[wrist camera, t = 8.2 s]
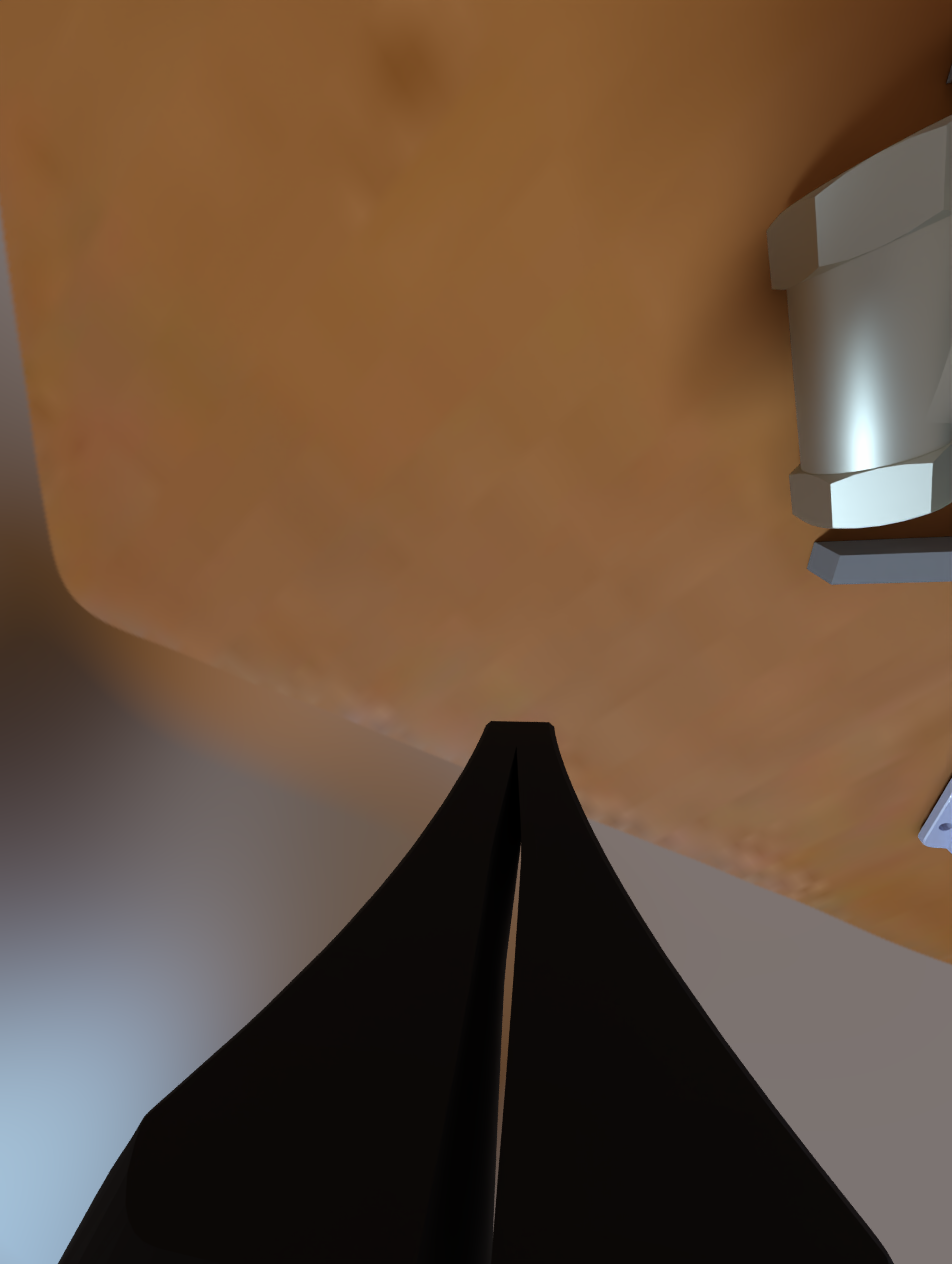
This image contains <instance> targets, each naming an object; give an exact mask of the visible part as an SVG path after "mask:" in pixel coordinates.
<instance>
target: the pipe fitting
mask: <svg viewBox="0 0 952 1264" xmlns="http://www.w3.org/2000/svg"><path fill="white" fill-rule="evenodd" d="M766 232H767V243H768V254H769V265H770V275H771V286H772V289H776V290H786V289H787V302H788V314H789V327H790V340H791V352H792V365H793V377H794V390H795V402H796V414H797V426H798V438H799V450H800V462H801V464H800V465H799V466H798V467H796V468H795V469H794V470H793V471H792V473H791V474H790V475H789V481H790V491H791V502H792V513H793V515H795V516H796V517H798V518H799V519H801V520H802V521H804V522H806V523H808V524H811V525H813V526H817V527H822V528H831V529H854V528H866V527H875V526H882V525H888V524H893V523H898V522H902V521H906V520H910V519H914V518H917V517H921V516H924V515H927V514H929V513H932V512H935V511H937V510H940V509H942V508H943V507H945V506H947V505H948V504H950V503H951V502H952V115H950V116H948V117H946V118H944V119H942V120H940V121H938V122H936V123H934V124H932V125H930V126H928V127H926V128H924V129H922V130H920V131H918V132H916V133H914V134H912V135H910V136H908V137H906V138H905V139H903V140H901V141H899V142H897V143H895V144H893V145H892V146H890V147H888V148H886V149H884V150H882V151H881V152H879V153H877V154H875V155H873V156H872V157H870V158H868V159H866V160H864V161H863V162H861V163H859V164H857V165H856V166H854V167H852V168H850V169H849V170H847V171H845V172H844V173H842V174H840V175H838V176H837V177H835V178H833V179H832V180H830V181H828V182H827V183H825V184H823V185H822V186H820V187H818V188H817V189H815V190H814V191H812V192H810V193H809V194H807V195H806V196H804V197H803V198H801V199H800V200H798V201H797V202H795V203H794V204H792V205H791V206H789V207H788V208H787V209H785V210H784V211H783V212H782V213H781V214H780V215H779V216H778V217H777V218H776V219H775V220H774V222H773V223H772V224H771V225H770V227H769V228H768V229H767V231H766Z"/></svg>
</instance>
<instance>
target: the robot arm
mask: <svg viewBox="0 0 952 1264" xmlns="http://www.w3.org/2000/svg"><path fill="white" fill-rule="evenodd" d="M918 838H919V839H920V841H921V842H922V843H923V844H924V845H926V846H928V847H933V848H947V849H948V850H949V851H950V852H951V854H952V778H951V780H950V782H949V783H948V785H947V787H946V789H945V790H944V792H943V794H942V795H941V797H940V799H939V800H938V802H937V804H936V805H935V807H934V809H933V810H932V812H931V814H930V815H929V817H928V819H927V821H926V822H925V824H924V826H923V827H922V829H921V831H920V832H919V834H918ZM520 846H521V870H520V887H519V903H518V919H517V934H516V948H515V963H514V977H513V992H512V1005H511V1018H510V1031H509V1045H508V1060H507V1072H506V1085H505V1097H504V1109H503V1122H502V1134H501V1146H500V1158H499V1171H498V1183H497V1197H496V1208H495V1220H494V1232H493V1217H494V1193H495V1169H496V1145H497V1122H498V1100H499V1077H500V1056H501V1035H502V1016H503V996H504V979H505V969H506V958H507V949H508V941H509V933H510V924H511V918H512V910H513V902H514V894H515V886H516V878H517V870H518V862H519V854H520ZM58 1264H894V1263H893V1261H892V1259H891V1258H890V1256H889V1254H888V1252H887V1251H886V1249H885V1248H884V1246H883V1245H882V1244H881V1242H880V1241H879V1239H878V1238H877V1237H876V1235H875V1234H874V1233H873V1232H872V1230H871V1229H870V1228H869V1226H868V1225H867V1224H866V1223H865V1221H864V1220H863V1219H862V1218H861V1216H860V1215H859V1214H858V1213H857V1211H856V1210H855V1209H854V1207H853V1206H852V1205H851V1204H850V1202H849V1201H848V1200H847V1199H846V1197H845V1196H844V1195H843V1194H842V1192H841V1191H840V1190H839V1189H838V1187H837V1186H836V1185H835V1184H834V1182H833V1181H832V1180H831V1179H830V1177H829V1176H828V1175H827V1174H826V1172H825V1171H824V1170H823V1169H822V1167H821V1166H820V1165H819V1163H818V1162H817V1161H816V1160H815V1158H814V1157H813V1156H812V1154H811V1153H810V1152H809V1151H808V1149H807V1148H806V1147H805V1145H804V1144H803V1143H802V1142H801V1140H800V1139H799V1138H798V1136H797V1135H796V1134H795V1132H794V1131H793V1130H792V1128H791V1127H790V1126H789V1125H788V1123H787V1122H786V1121H785V1119H784V1118H783V1117H782V1116H781V1115H780V1113H779V1112H778V1110H777V1109H776V1108H775V1107H774V1105H773V1104H772V1103H771V1101H770V1100H769V1099H768V1097H767V1096H766V1095H765V1093H764V1092H763V1090H762V1089H761V1088H760V1086H759V1085H758V1084H757V1082H756V1081H755V1080H754V1078H753V1077H752V1076H751V1074H750V1073H749V1072H748V1070H747V1069H746V1068H745V1066H744V1065H743V1064H742V1062H741V1061H740V1060H739V1058H738V1057H737V1055H736V1054H735V1053H734V1051H733V1050H732V1049H731V1048H730V1046H729V1045H728V1043H727V1042H726V1041H725V1039H724V1038H723V1037H722V1035H721V1034H720V1032H719V1031H718V1029H717V1028H716V1026H715V1025H714V1024H713V1022H712V1021H711V1019H710V1018H709V1016H708V1015H707V1014H706V1012H705V1011H704V1009H703V1008H702V1006H701V1005H700V1003H699V1002H698V1001H697V999H696V998H695V996H694V995H693V993H692V992H691V991H690V989H689V988H688V986H687V985H686V983H685V982H684V981H683V979H682V977H681V976H680V975H679V973H678V972H677V970H676V969H675V968H674V966H673V965H672V963H671V962H670V960H669V959H668V957H667V956H666V954H665V953H664V951H663V950H662V949H661V947H660V945H659V943H658V942H657V940H656V939H655V937H654V936H653V934H652V932H651V931H650V929H649V928H648V926H647V925H646V923H645V922H644V920H643V918H642V917H641V915H640V914H639V912H638V910H637V909H636V907H635V906H634V904H633V902H632V900H631V899H630V897H629V895H628V894H627V892H626V890H625V889H624V887H623V885H622V884H621V882H620V880H619V878H618V876H617V875H616V873H615V871H614V870H613V868H612V866H611V864H610V862H609V861H608V859H607V857H606V855H605V853H604V851H603V849H602V847H601V845H600V843H599V841H598V840H597V838H596V836H595V834H594V832H593V830H592V828H591V826H590V824H589V822H588V820H587V817H586V815H585V813H584V811H583V809H582V807H581V804H580V802H579V800H578V798H577V795H576V793H575V791H574V789H573V786H572V784H571V781H570V779H569V777H568V774H567V771H566V769H565V766H564V763H563V760H562V757H561V754H560V751H559V748H558V744H557V740H556V736H555V730H554V726H552V725H551V724H550V723H549V722H507V721H491V722H489V723H488V724H487V725H486V727H485V729H484V731H483V734H482V736H481V738H480V740H479V742H478V744H477V746H476V748H475V750H474V752H473V754H472V756H471V757H470V759H469V761H468V763H467V765H466V766H465V768H464V770H463V772H462V773H461V775H460V777H459V778H458V780H457V781H456V783H455V785H454V786H453V788H452V790H451V791H450V793H449V794H448V796H447V798H446V799H445V801H444V802H443V804H442V805H441V807H440V808H439V810H438V811H437V813H436V814H435V815H434V817H433V818H432V820H431V821H430V823H429V824H428V825H427V827H426V828H425V830H424V831H423V833H422V834H421V836H420V837H419V838H418V840H417V841H416V842H415V844H414V845H413V846H412V848H411V849H410V850H409V852H408V853H407V854H406V856H405V857H404V858H403V859H402V861H401V862H400V863H399V864H398V866H397V867H396V868H395V869H394V871H393V872H392V873H391V874H390V876H389V877H388V878H387V879H386V880H385V882H384V883H383V884H382V885H381V887H380V888H379V889H378V890H377V891H376V892H375V893H374V895H373V896H372V897H371V898H370V899H369V900H368V901H367V903H366V904H365V905H364V906H363V907H362V908H361V909H360V910H359V912H358V913H357V914H356V915H355V916H354V917H353V918H352V919H351V921H350V922H349V923H348V924H347V925H346V926H345V927H344V928H343V929H342V931H341V932H340V933H339V934H338V935H337V936H336V937H335V938H334V939H333V940H332V941H331V942H330V943H329V944H328V945H327V947H325V949H324V950H323V951H322V952H321V953H320V954H318V956H316V958H314V959H313V960H312V961H311V962H310V964H308V965H307V966H306V967H305V968H304V969H303V971H301V972H300V973H299V974H298V975H297V976H296V977H295V978H294V979H293V980H292V982H290V983H289V984H288V985H287V986H286V987H285V988H284V989H283V990H282V991H281V992H280V993H279V994H278V995H277V996H276V997H275V998H274V999H273V1000H272V1001H271V1002H270V1003H269V1004H268V1005H267V1006H266V1007H265V1008H264V1009H263V1010H262V1011H261V1012H260V1013H259V1014H257V1015H256V1017H254V1018H253V1019H252V1020H251V1021H250V1022H249V1023H248V1024H247V1025H246V1026H245V1027H243V1028H242V1029H241V1030H240V1031H239V1032H238V1033H237V1034H236V1035H235V1036H233V1038H231V1039H230V1040H229V1041H228V1042H227V1043H226V1044H225V1045H223V1046H222V1047H221V1048H220V1049H219V1050H218V1051H217V1052H215V1053H214V1054H213V1055H212V1056H211V1057H210V1058H209V1059H208V1060H206V1061H205V1062H204V1063H203V1064H202V1065H201V1066H200V1067H199V1068H197V1069H196V1070H195V1071H194V1072H193V1073H192V1074H191V1075H190V1076H189V1077H187V1078H186V1079H185V1080H184V1081H183V1082H182V1083H181V1084H180V1085H178V1086H177V1087H176V1088H175V1089H174V1090H173V1091H172V1092H171V1093H169V1094H168V1095H167V1096H166V1097H165V1098H164V1099H163V1100H161V1101H160V1102H159V1103H158V1104H157V1105H156V1106H155V1107H154V1108H153V1109H151V1110H150V1111H149V1112H148V1114H146V1115H145V1116H144V1118H143V1120H142V1121H141V1123H140V1125H139V1127H138V1128H137V1130H136V1131H135V1133H134V1135H133V1137H132V1138H131V1140H130V1141H129V1143H128V1144H127V1146H126V1148H125V1149H124V1150H123V1152H122V1153H121V1155H120V1156H119V1158H118V1159H117V1161H116V1162H115V1164H114V1166H113V1167H112V1169H111V1170H110V1172H109V1174H108V1175H107V1177H106V1179H105V1181H104V1183H103V1184H102V1186H101V1188H100V1189H99V1191H98V1193H97V1194H96V1196H95V1198H94V1200H93V1202H92V1204H91V1205H90V1207H89V1209H88V1211H87V1212H86V1214H85V1216H84V1218H83V1220H82V1222H81V1223H80V1225H79V1227H78V1229H77V1230H76V1232H75V1234H74V1236H73V1238H72V1239H71V1241H70V1243H69V1245H68V1246H67V1249H66V1250H65V1252H64V1254H63V1256H62V1257H61V1259H60V1261H59V1263H58Z"/></svg>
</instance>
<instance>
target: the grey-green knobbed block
mask: <svg viewBox="0 0 952 1264" xmlns="http://www.w3.org/2000/svg"><path fill="white" fill-rule="evenodd" d="M947 83H952V66H951V69H950V73H949V76H948V80H947ZM947 83H946V84H947ZM807 569H808V570H809V571H811V572H812V573H814V574H815V575H817V576H819V577H820V578H822V579H823V580H825V581H826V582H828V583H829V584H868V583H905V582H943V581H952V537H929V538H904V539H880V540H855V541H830V542H814V546H813V549H812V553H811V556H810V560H809V563H808V567H807Z"/></svg>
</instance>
